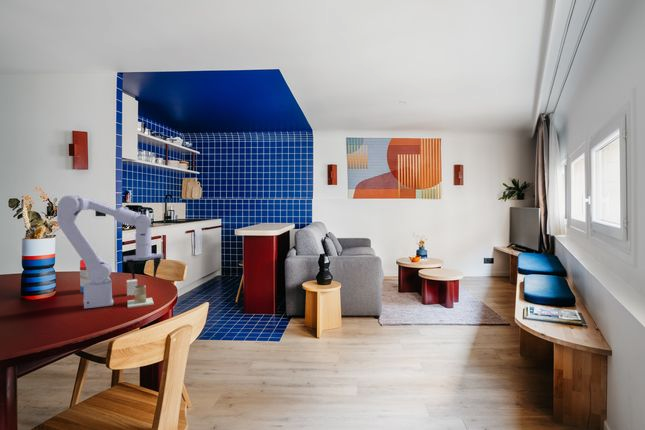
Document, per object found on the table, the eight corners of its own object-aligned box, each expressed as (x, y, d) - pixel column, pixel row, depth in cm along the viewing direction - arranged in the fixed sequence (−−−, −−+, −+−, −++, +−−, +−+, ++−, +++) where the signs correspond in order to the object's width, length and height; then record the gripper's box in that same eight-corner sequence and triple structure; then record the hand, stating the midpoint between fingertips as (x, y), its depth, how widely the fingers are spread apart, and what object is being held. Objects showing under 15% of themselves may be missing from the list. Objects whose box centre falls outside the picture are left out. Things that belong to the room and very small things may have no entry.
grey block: (127, 295, 155) (126, 282, 155) (127, 293, 159) (126, 280, 159) (137, 294, 157) (137, 281, 157) (137, 292, 161) (137, 279, 161)
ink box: (90, 293, 160) (90, 260, 159) (80, 292, 160) (79, 260, 160) (103, 288, 169) (102, 257, 168) (92, 288, 169) (91, 257, 168)
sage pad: (127, 307, 138) (127, 306, 138) (127, 302, 146) (127, 300, 146) (153, 304, 142) (153, 303, 142) (152, 299, 150) (152, 297, 150)
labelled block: (134, 303, 141) (134, 287, 141) (134, 301, 145) (134, 285, 145) (146, 302, 143) (145, 286, 143) (145, 299, 147) (145, 284, 147)
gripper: (162, 242, 154) (162, 274, 155) (123, 244, 147) (124, 277, 148) (163, 244, 148) (164, 277, 148) (123, 246, 141) (123, 280, 142)
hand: (144, 277), depth 148 cm, fingers open, 7 cm apart
